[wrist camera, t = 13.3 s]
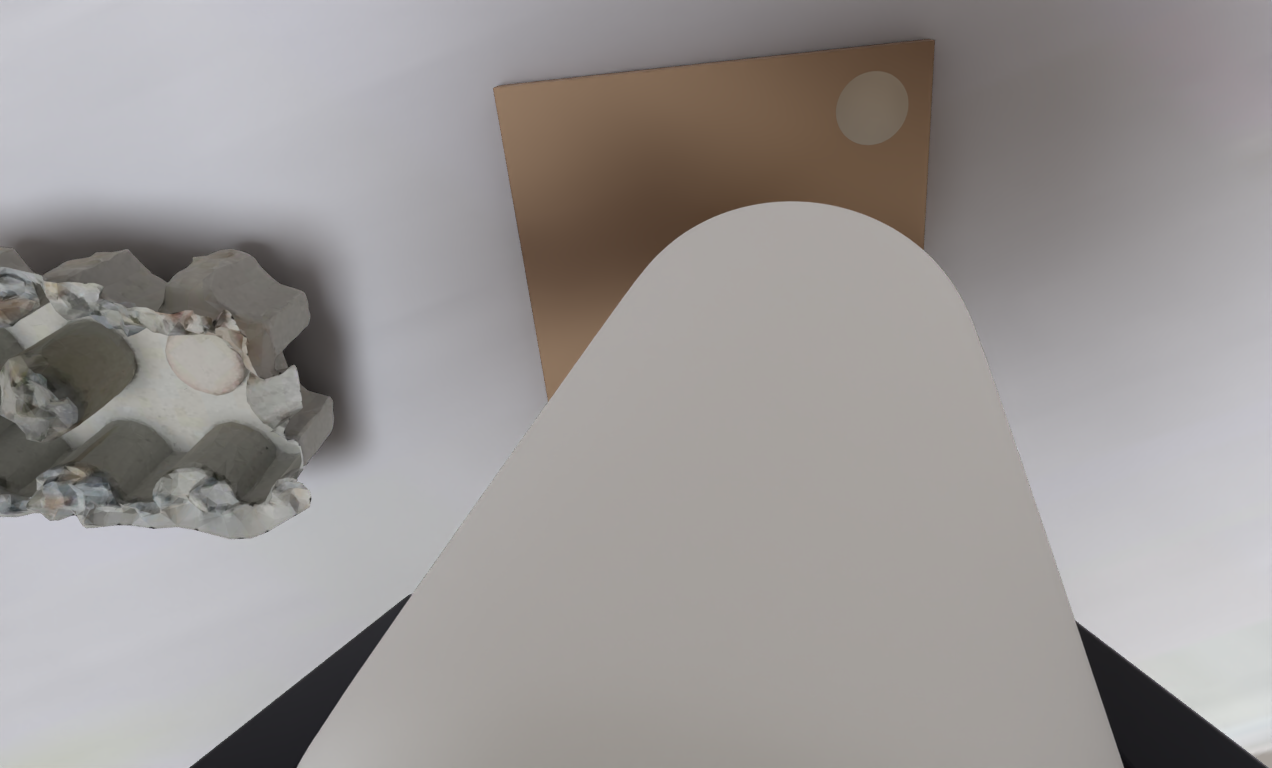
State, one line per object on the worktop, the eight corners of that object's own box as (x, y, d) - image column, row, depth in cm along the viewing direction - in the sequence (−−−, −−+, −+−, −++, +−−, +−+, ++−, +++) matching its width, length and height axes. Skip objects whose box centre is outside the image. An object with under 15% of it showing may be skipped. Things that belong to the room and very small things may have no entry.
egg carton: (313, 245, 21) (234, 311, 17) (354, 474, 24) (296, 566, 21) (-76, 221, 21) (-233, 280, 17) (23, 450, 25) (-88, 537, 21)
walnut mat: (908, 426, 22) (913, 437, 21) (560, 440, 23) (556, 451, 23) (927, 39, 18) (935, 40, 17) (499, 85, 19) (493, 88, 18)
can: (554, 359, 16) (-32, 1119, 5) (790, 108, 12) (470, 794, 2) (786, 561, 16) (672, 1548, 6) (1061, 376, 13) (1777, 1785, 3)
